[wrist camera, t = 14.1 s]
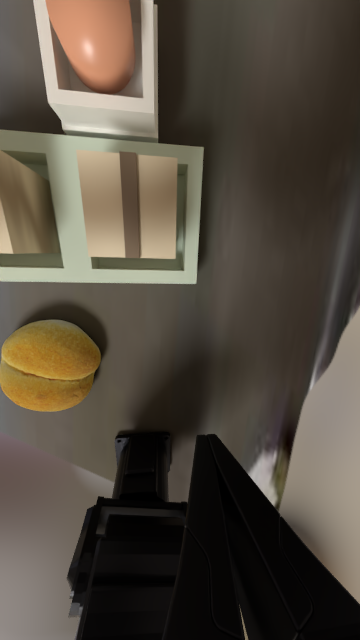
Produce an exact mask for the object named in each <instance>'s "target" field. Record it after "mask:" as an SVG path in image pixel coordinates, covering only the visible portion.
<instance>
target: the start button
mask: <svg viewBox="0 0 360 640" xmlns="http://www.w3.org/2000/svg"><path fill="white" fill-rule="evenodd" d="M45 1H46V7H47V11H48V15H49V18H50V21H51V23H52V25H53V28H54V30H55V32H56V34H57V36H58V38H59V40H60V42H61V45H62V47H63V49H64V51H65V53H66V55H67V57H68V59H69V62H70V64H71V66H72V68H73V70H74V72H75V73H76V75H77V76H78V78H79V79H80V80H81V81H82V83H83V84H84V85H86V86H87V87H88V88H89V89H91V90H92V91H94V92H96V93H99V94H107V95H111V94H115V93H118V92H120V91H121V90H122V89H124V88H125V87H126V86H127V84H128V83H129V81H130V79H131V77H132V75H133V72H134V68H135V45H134V36H133V28H132V20H131V11H130V4H129V0H45Z"/></svg>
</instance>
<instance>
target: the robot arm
mask: <svg viewBox="0 0 360 640" xmlns="http://www.w3.org/2000/svg"><path fill="white" fill-rule="evenodd" d="M115 449H116V458H117V473H116V479H115V484H114V489H113V495H112V498H104V497H100V496H98V500H97V504H96V505H94V506H93V507H91V508H89V509H87V512H86V516H85V520H84V523H83V527H82V530H81V534H80V537H79V540H78V543H77V546H76V549H75V553H74V556H73V559H72V562H71V565H70V568H69V572H68V577H67V580H68V583H69V585H70V588H71V595H70V599H73V600H72V603H71V608H70V612H69V616H68V617H77V616H80V617H79V622H78V627H77V631H76V636H75V640H245V636H244V630H243V625H242V619H241V612H242V617H243V620H244V624H245V628H246V632H247V636H248V640H360V604H359V603H358V602H357V601H356V600H355V599H354V597H353V596H351V594H350V593H349V592H348V591H347V590H346V589H345V588H344V587H343V586H342V585H341V583H340V582H339V581H338V580H337V579H336V578H335V577H334V576H333V575H332V574H331V573H330V572H329V571H328V569H327V568H326V567H325V566H324V565H323V564H322V563H321V562H320V561H319V560H318V558H317V557H316V556H315V555H314V554H313V553H312V552H311V551H310V550H309V548H308V547H307V546H306V545H305V544H304V543H303V541H302V540H301V539H300V538H299V537H298V535H296V533H295V532H294V531H293V530H292V528H291V527H290V526H289V525H288V523H287V522H286V521H285V520H284V518H283V517H280V513H279V512H278V511H277V510H276V509H275V507H274V506H273V505H272V504H271V502H270V501H269V500H268V499H267V497H266V496H265V495H264V494H263V492H262V491H261V490H260V489H259V487H258V486H257V485H256V484H255V482H254V481H253V480H252V479H251V478H250V476H249V475H248V474H247V473H246V471H245V470H244V469H243V468H242V466H241V465H240V464H239V463H238V461H237V460H236V459H235V458H234V456H233V455H232V454H231V453H230V451H229V450H228V449H227V448H226V447H225V445H224V444H223V443H222V442H221V440H220V439H219V438H218V437H217V435H215V434H207V435H197V438H196V445H195V453H194V460H193V468H192V475H191V483H190V490H189V498H188V504H187V502H181V503H179V502H169V498H168V472H169V471H170V433H168V432H162V433H146V434H130V435H118V436H116V438H115ZM239 605H240V606H239ZM240 609H241V612H240Z"/></svg>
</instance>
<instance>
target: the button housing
mask: <svg viewBox="0 0 360 640" xmlns="http://www.w3.org/2000/svg"><path fill="white" fill-rule="evenodd" d="M33 1H34V8H35V15H36V22H37V29H38V36H39V43H40V49H41V56H42V63H43V70H44V77H45V84H46V91H47V98H48V103H49V105H50V106H51V107H52V109H53V110H54V111H55V113H56V114H57V115H58V117H59V118H60V119H61V123H62V129H63V131H64V132H65V133H66V135H69V136H80V137H92V138H103V139H115V140H126V141H138V142H149V143H158V26H157V5H155V4H154V0H129V4H130V11H131V20H132V28H133V36H134V45H135V68H134V72H133V75H132V77H131V79H130V81H129V83H128V84H127V86H126V87H125V88H124V89H122V90H121V91H120V92H118V93H115V94H111V95H107V94H99V93H96V92H94V91H92V90H91V89H89V88H88V87H87V86H86V85H84V84H83V83H82V81H81V80H80V79H79V78H78V76H77V75H76V73H75V72H74V70H73V68H72V66H71V64H70V62H69V59H68V57H67V55H66V53H65V51H64V49H63V47H62V45H61V42H60V40H59V38H58V36H57V34H56V32H55V30H54V28H53V25H52V23H51V21H50V18H49V15H48V11H47V7H46V1H45V0H33Z"/></svg>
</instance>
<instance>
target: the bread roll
mask: <svg viewBox="0 0 360 640" xmlns="http://www.w3.org/2000/svg"><path fill="white" fill-rule="evenodd" d="M100 360H101V354H100V350H99V348H98V347H97V345H96V344H95V343H94V342H93V341H92V339H91V338H90V337H89V336H88V335H87V334H86V333H85V332H84V331H83V330H81V329H80V328H79V327H78V326H76V325H75V324H72V323H69V322H66V321H63V320H54V319H53V320H41V321H37V322H33V323H30V324H27V325H25V326H23V327H21V328H19V329H18V330H16V331H15V332H14V333H13V334H12V335H11V336H10V337H8V338H7V339H6V340H5V342H4V344H3V347H2V358H1V365H0V383H1V389H2V390H3V392H4V393H5V394H6V395H7V396H8V397H9V398H10V399H11V400H12V401H13V402H14V403H16V404H17V405H19V406H22V407H24V408H27V409H31V410H37V411H60V410H64V409H68V408H70V407H72V406H75V405H76V404H78V403H80V402H81V401H82V400H83V399H84V398H85V397H86V396H87V394H88V393H89V391H90V390H91V387H92V384H93V379H94V373H95V370H96V369H97V368H98V366H99V365H100Z"/></svg>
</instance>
